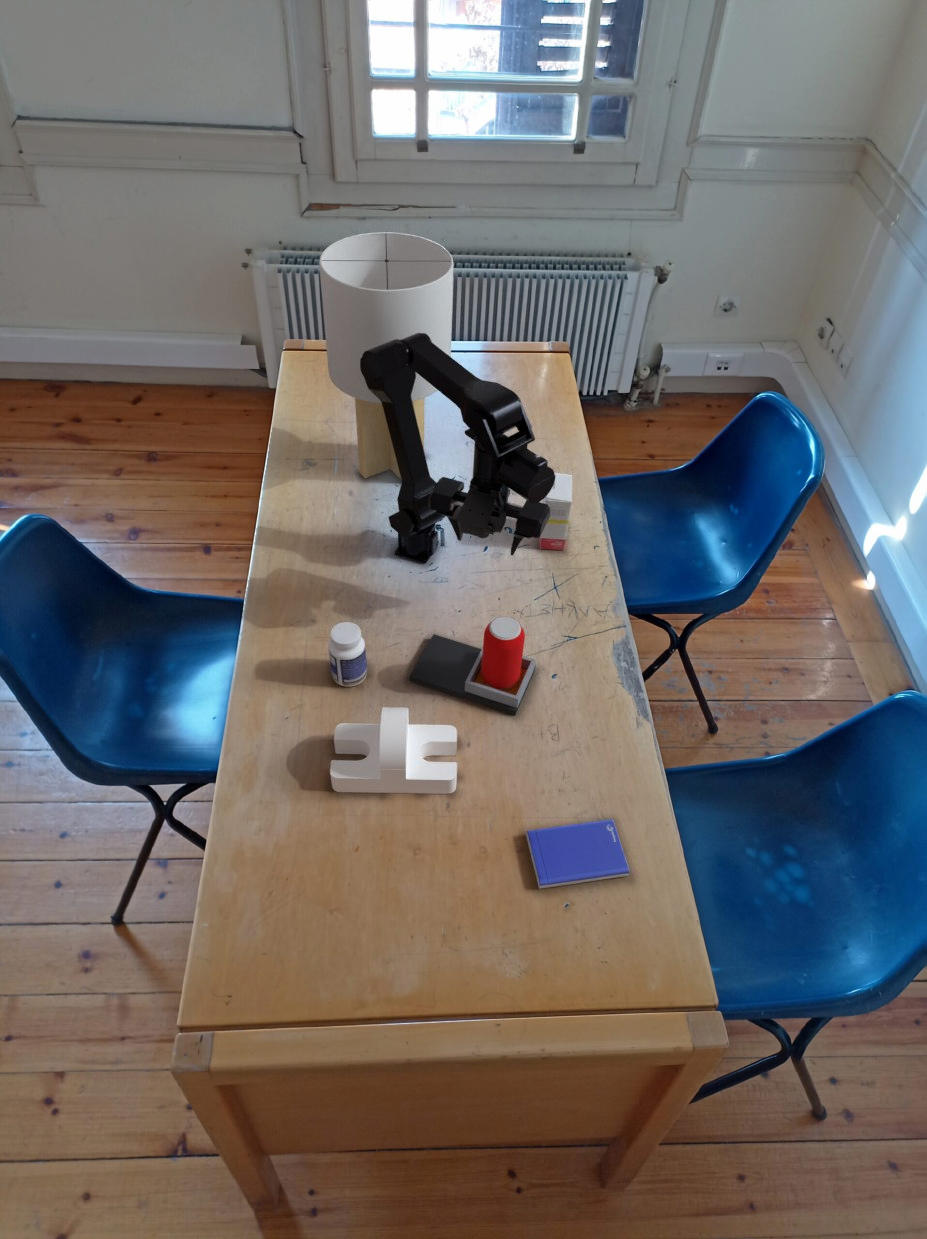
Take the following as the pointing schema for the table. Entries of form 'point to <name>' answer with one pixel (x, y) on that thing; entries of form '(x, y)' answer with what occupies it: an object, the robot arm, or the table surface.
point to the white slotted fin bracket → (394, 756)
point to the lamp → (382, 321)
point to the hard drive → (576, 853)
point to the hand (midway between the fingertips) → (486, 546)
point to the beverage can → (502, 653)
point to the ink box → (557, 513)
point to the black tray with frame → (467, 675)
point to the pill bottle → (347, 654)
